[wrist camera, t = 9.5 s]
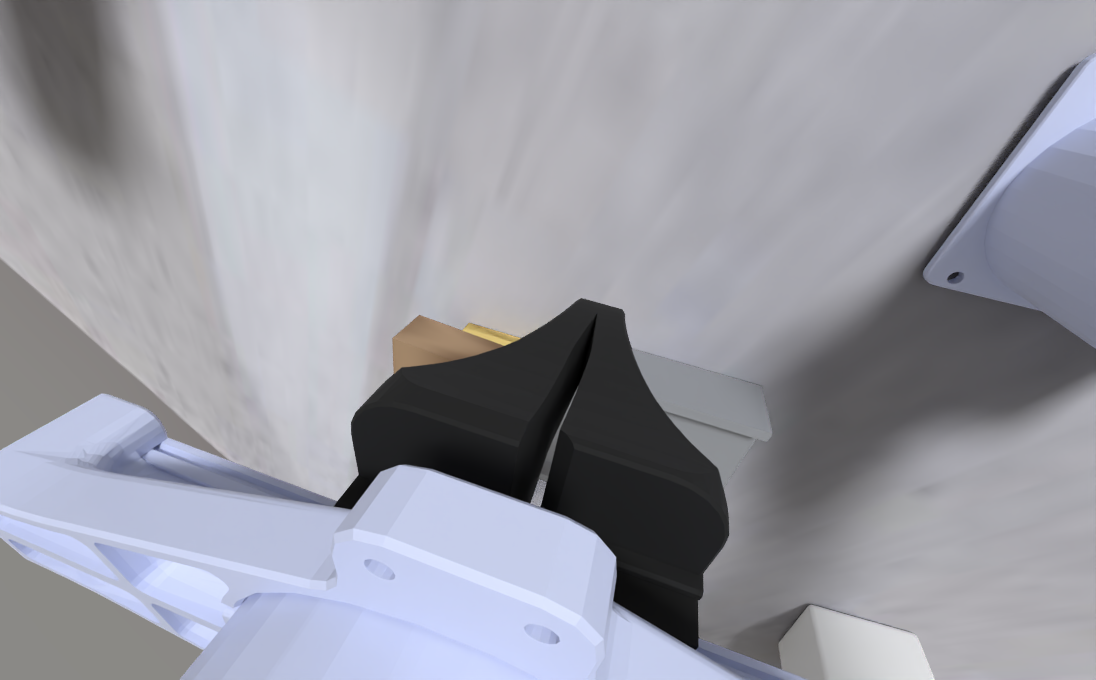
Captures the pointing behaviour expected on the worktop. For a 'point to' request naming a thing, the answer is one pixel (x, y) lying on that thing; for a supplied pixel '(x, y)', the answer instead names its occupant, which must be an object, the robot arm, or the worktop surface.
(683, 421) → the grey piece
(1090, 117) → the robot arm
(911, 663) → the medicine bottle
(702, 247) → the worktop surface
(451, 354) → the cover
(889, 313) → the worktop surface
